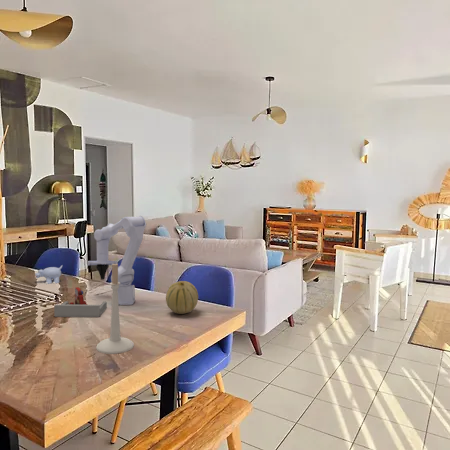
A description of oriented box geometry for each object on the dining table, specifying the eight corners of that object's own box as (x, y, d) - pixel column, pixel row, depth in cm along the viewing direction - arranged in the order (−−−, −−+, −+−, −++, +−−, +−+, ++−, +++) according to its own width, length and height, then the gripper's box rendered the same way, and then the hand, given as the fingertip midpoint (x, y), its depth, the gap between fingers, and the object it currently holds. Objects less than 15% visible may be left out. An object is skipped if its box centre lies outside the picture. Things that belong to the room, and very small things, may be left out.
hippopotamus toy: (35, 280, 244) (35, 265, 243) (62, 279, 250) (62, 263, 249) (35, 284, 234) (34, 268, 233) (63, 282, 240) (63, 266, 239)
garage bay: (106, 308, 191) (106, 297, 191) (98, 317, 178) (98, 305, 177) (65, 307, 190) (65, 297, 190) (54, 316, 177) (54, 305, 176)
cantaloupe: (191, 307, 196) (191, 276, 194) (203, 315, 182) (203, 282, 181) (161, 310, 189) (161, 278, 188) (171, 319, 176) (171, 285, 175)
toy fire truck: (73, 317, 177) (73, 293, 176) (68, 309, 188) (68, 287, 187) (89, 314, 181) (89, 291, 180) (84, 307, 191) (84, 285, 191)
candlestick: (98, 356, 137) (97, 267, 134) (94, 342, 148) (93, 260, 146) (137, 350, 142) (137, 265, 139) (130, 338, 153) (130, 259, 151)
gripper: (118, 251, 212) (118, 277, 213) (90, 251, 211) (90, 277, 213) (115, 253, 205) (115, 280, 206) (86, 253, 204) (86, 280, 206)
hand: (102, 279), depth 209 cm, fingers closed
